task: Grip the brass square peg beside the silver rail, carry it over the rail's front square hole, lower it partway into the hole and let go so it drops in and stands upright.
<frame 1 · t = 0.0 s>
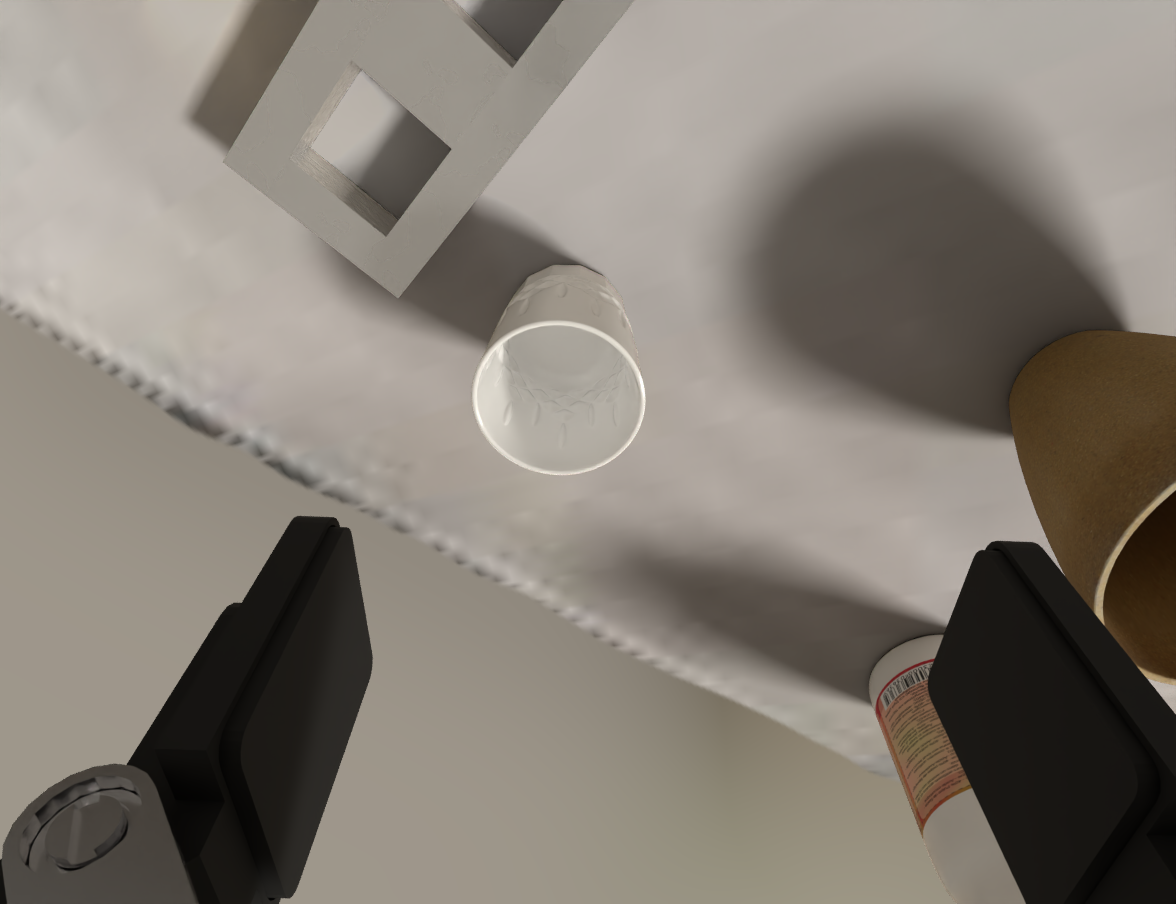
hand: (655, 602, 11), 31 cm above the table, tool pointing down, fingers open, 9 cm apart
fruit juice: (927, 673, 56), on the table
rail: (444, 59, 35), on the table
white cup: (567, 319, 42), on the table
plant pot: (1074, 387, 44), on the table
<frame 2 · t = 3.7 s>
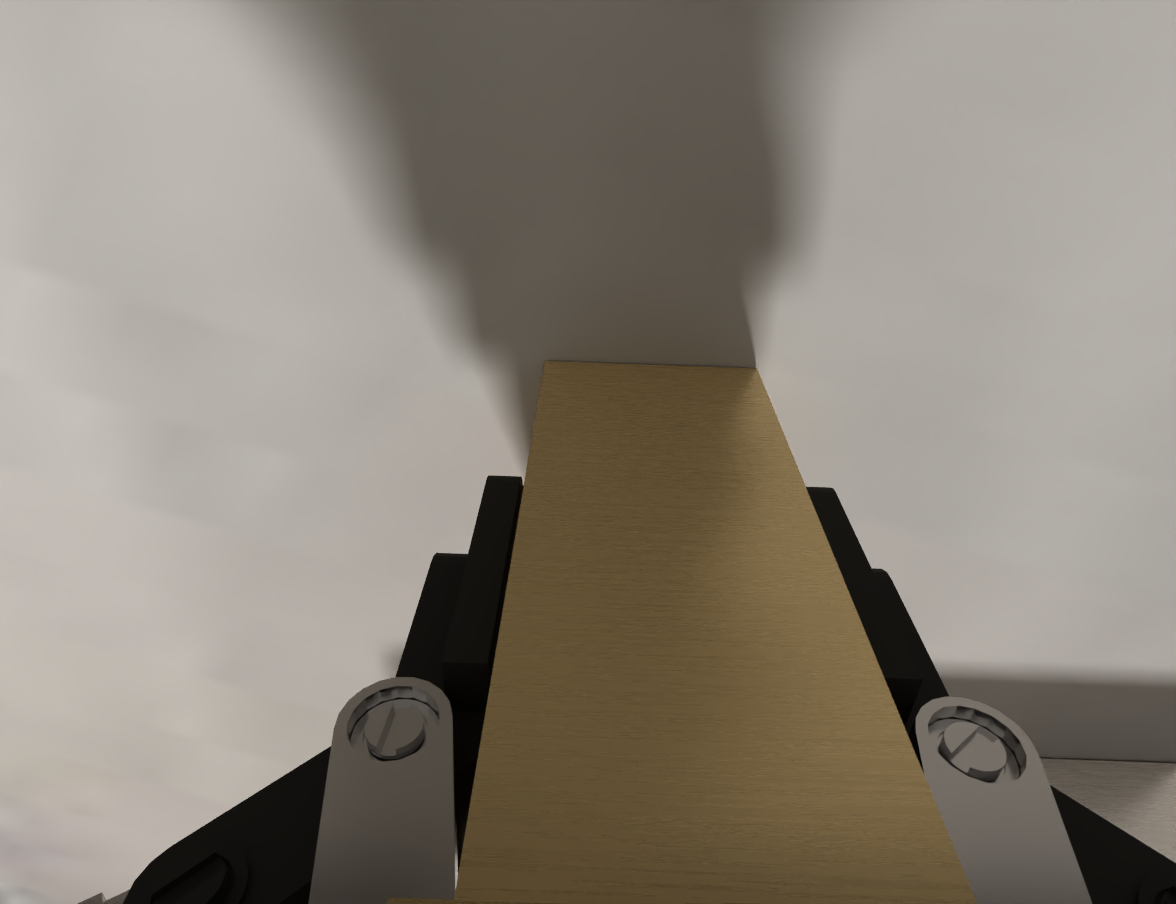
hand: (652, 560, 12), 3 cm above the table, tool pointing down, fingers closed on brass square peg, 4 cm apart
brass square peg: (643, 454, 15), on the table, touching gripper
rail: (778, 856, 22), on the table
when the fingers open (4 cm above the table, at t = 9.6 s): brass square peg stays where it is, resting in rail.
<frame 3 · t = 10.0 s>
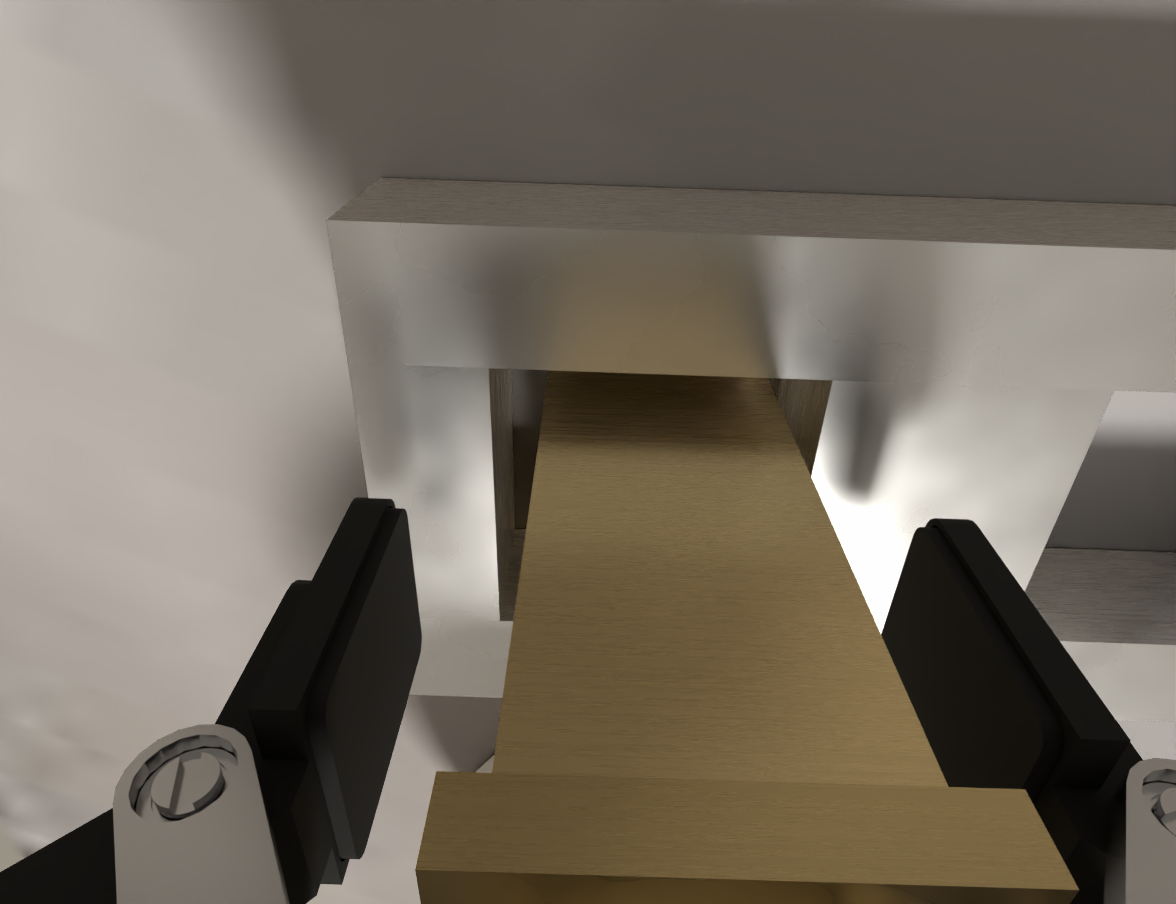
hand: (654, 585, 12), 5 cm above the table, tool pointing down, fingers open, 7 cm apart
brass square peg: (646, 429, 16), resting in rail
rail: (875, 439, 16), on the table
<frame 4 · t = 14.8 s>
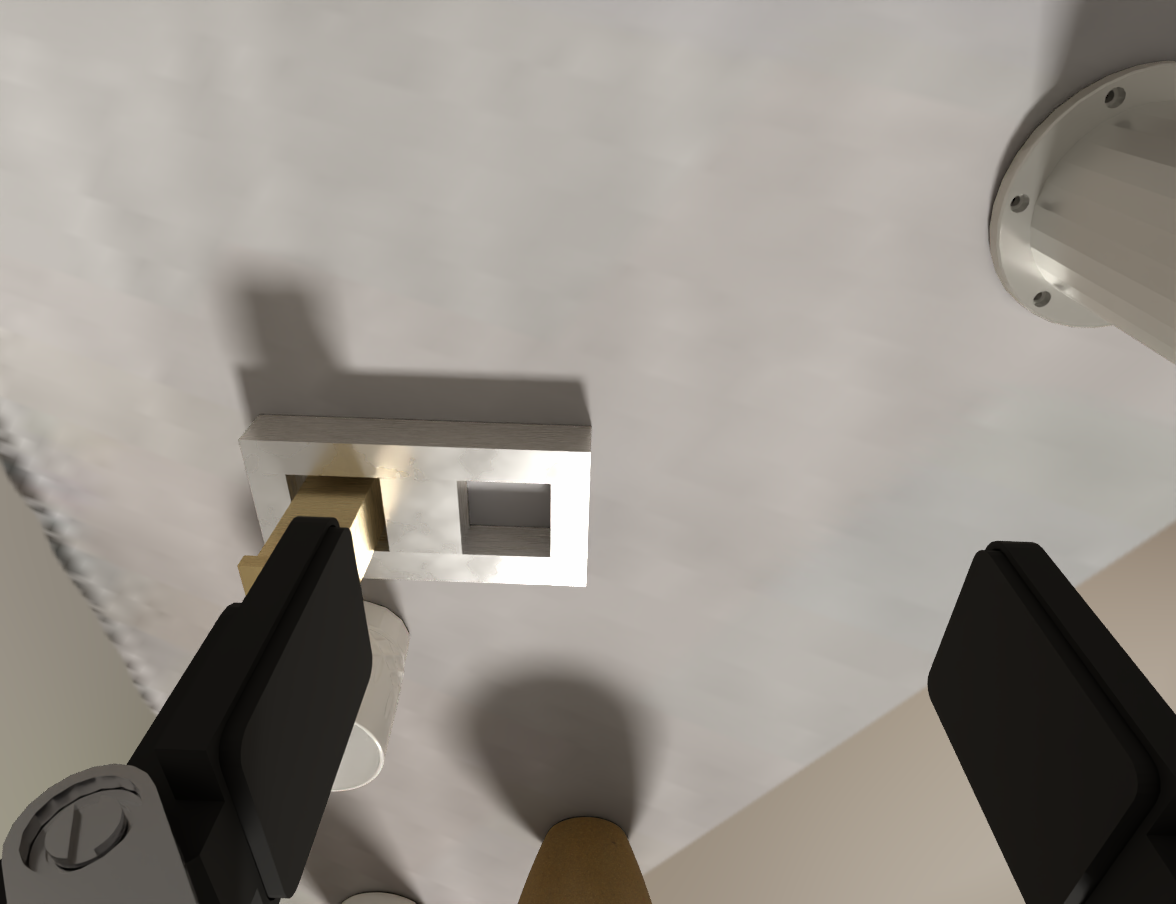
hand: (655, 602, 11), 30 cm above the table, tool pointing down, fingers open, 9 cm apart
brass square peg: (355, 485, 47), resting in rail
rail: (432, 489, 47), on the table
white cup: (364, 631, 54), on the table
plant pot: (587, 838, 67), on the table
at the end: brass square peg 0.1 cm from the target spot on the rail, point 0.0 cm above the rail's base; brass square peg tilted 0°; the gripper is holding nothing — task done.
